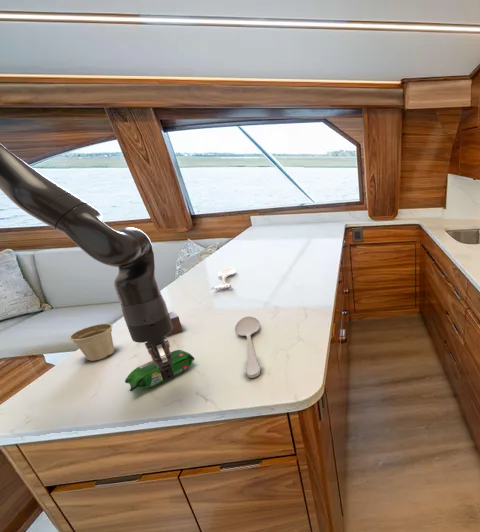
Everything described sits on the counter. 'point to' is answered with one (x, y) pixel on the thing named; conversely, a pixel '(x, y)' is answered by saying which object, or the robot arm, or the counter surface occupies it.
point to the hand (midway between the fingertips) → (169, 378)
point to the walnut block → (175, 324)
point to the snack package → (157, 370)
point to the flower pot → (94, 341)
